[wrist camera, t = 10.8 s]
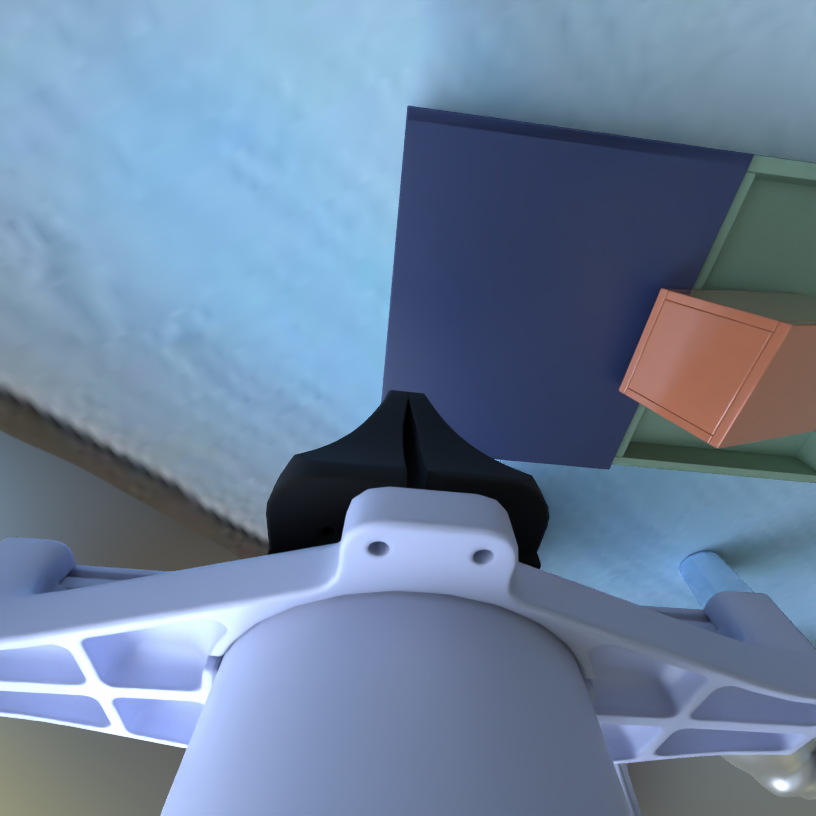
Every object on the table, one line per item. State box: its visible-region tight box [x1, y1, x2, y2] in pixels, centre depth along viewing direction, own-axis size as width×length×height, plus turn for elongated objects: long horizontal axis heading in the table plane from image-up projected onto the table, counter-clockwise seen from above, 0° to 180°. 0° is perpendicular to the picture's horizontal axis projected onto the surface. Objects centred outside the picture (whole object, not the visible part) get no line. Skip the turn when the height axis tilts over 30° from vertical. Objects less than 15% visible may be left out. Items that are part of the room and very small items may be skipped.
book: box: [381, 106, 754, 469], centre depth 20 cm, size 16×14×3 cm
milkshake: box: [680, 551, 755, 609], centre depth 28 cm, size 5×5×10 cm
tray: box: [612, 155, 816, 483], centre depth 21 cm, size 16×14×2 cm
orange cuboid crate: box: [619, 288, 816, 449], centre depth 18 cm, size 10×5×5 cm, turn 84°
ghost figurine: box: [720, 738, 816, 800], centre depth 35 cm, size 9×10×10 cm
